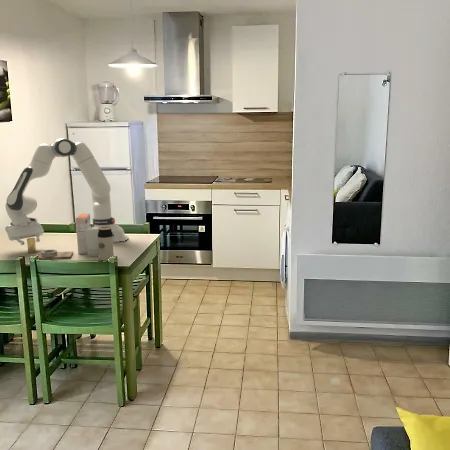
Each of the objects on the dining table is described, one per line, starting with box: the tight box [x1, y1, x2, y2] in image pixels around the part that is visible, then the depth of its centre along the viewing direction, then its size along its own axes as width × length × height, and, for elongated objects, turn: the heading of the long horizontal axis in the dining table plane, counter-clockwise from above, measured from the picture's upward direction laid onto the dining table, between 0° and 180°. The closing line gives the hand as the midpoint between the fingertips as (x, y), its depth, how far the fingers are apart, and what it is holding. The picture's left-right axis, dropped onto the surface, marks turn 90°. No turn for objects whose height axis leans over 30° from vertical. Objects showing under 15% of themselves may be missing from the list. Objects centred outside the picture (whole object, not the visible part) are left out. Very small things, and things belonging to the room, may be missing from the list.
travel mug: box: [98, 226, 115, 261], centre depth 281 cm, size 8×8×18 cm
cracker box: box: [75, 213, 92, 255], centre depth 299 cm, size 14×6×21 cm, turn 4°
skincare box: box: [86, 226, 99, 257], centre depth 291 cm, size 8×7×16 cm
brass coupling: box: [26, 237, 37, 254], centre depth 297 cm, size 4×4×8 cm
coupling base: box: [34, 249, 74, 260], centre depth 288 cm, size 20×11×3 cm, turn 98°
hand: (30, 242), depth 297 cm, fingers open, 8 cm apart
